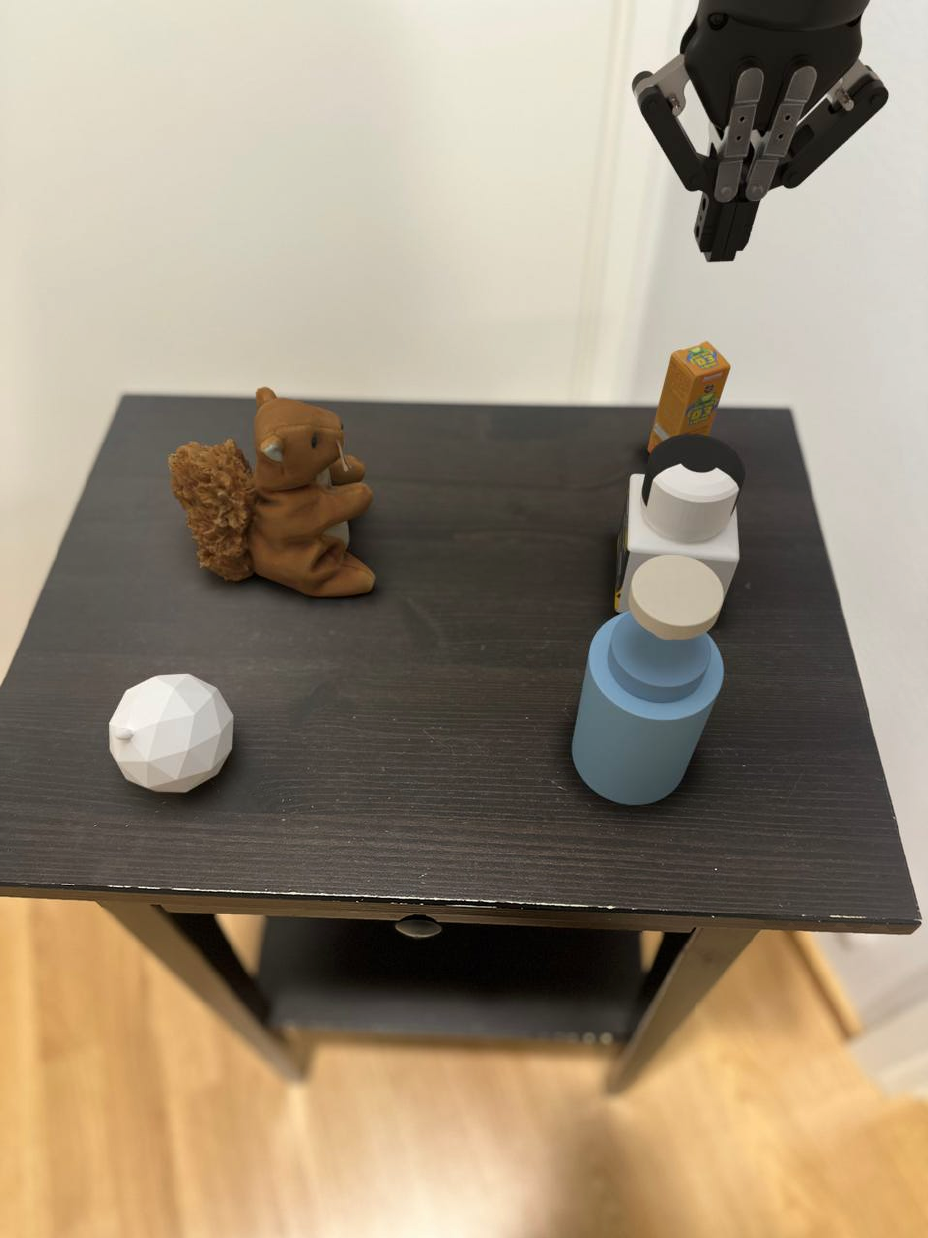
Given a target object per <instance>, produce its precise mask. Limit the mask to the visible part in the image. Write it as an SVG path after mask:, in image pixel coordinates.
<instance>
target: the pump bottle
mask: <svg viewBox="0 0 928 1238" xmlns="http://www.w3.org/2000/svg"><path fill="white" fill-rule="evenodd" d="M724 676H725V669H724V662H723V657H722V655H721V651H720V650H719V648H718V646H717V643H715V641H714V640H713V638H712V637H711V636H710V635H709V634H708V632H705V633H704V634H702V635H700V636H698V637H695V638H691V639H685V640H663V639H660V638H658V637H657V636H655V635H654V634H653V633H651V632H649V631H648V630H646V629H645V628H643V627H642V626H641V625H640V624H639V623H638V622H637V621H636V619H635V618H634V616H633V615H632V613H631V611H628V612H625V613H619V614H618V615H615V616H613V617H612V618H611V619H609V620H607V621H606V622H605V623H604V624H603V625H601V627H600V628H599V629H598V630H597V632H596V633H595V635H594V636H593V637H592V641H591V642H590V646H589V650H588V656H587V661H586V666H585V671H584V676H583V682H582V687H581V692H580V698H579V704H578V710H577V714H576V715H577V716H576V720H575V727H574V732H573V737H572V743H571V755H572V761H573V763H574V766H575V769H576V771H577V773H578V775H579V776H580V777H581V779H582V781H583V782H584V783H585V784H586V785H587V786H588V787H589V788H590V789H591V790H592V791H594V792H595V793H596V794H598V795H599V796H601V797H603V798H604V799H607V800H609V801H612V802H615V803H618V804H622V805H628V806H642V805H648V804H652V803H656V802H658V801H661V800H662V799H664V798H666V797H667V796H669V795H670V794H672V793H673V791H674V790H675V789H676V788H677V787H678V786H679V784H680V783H681V782H682V780H683V777H684V776H685V773H686V771H687V769H688V766H689V764H690V761H691V759H692V756H693V754H694V752H695V750H696V748H697V745H698V742H699V741H700V738H701V736H702V734H703V731H704V728H705V726H706V723H707V721H708V719H709V717H710V714H711V712H712V710H713V708H714V705H715V702H716V701H717V698H718V695H719V693H720V691H721V689H722V685H723V682H724Z"/></svg>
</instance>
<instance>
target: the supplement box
mask: <svg viewBox="0 0 928 1238" xmlns="http://www.w3.org/2000/svg"><path fill="white" fill-rule="evenodd" d="M731 368H732V367H731V364H730V363H729V362H728V360H727V359H726V358H725V357H724V355H722V354H721V352H720V351H719V350H717V348H715V347H714V345H712V344H711V343H710V342H709V341H703V342H701V343H700V344H698V345H695V346H691V347H688V348H684V349H678V350H674V351H673V352H671V354H670V357H669V361H668V366H667V369H666V374H665V377H664V381H663V386H662V389H661V393H660V397H659V400H658V404H657V405H658V406H657V409H656V415H655V416H654V421H653V425H652V429H651V433H650V437H649V441H648V445H647V452H648V453H649V454H650V453H651V451H652V450H653V448H654V447H656V446H657V445H658V444H659V443H661V442H662V441H664V440H666V439H668V438H670V437H673V436H677V435H682V434H700V435H706V436H710V432H711V429H712V425H713V424H714V423H713V422H714V420H715V416H716V413H717V412H718V411H717V410H718V407H719V405H720V402H721V398H722V395H723V391H724V390H725V386H726V383H727V380H728V377H729V374H730V370H731Z"/></svg>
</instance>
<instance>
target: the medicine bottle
mask: <svg viewBox="0 0 928 1238" xmlns="http://www.w3.org/2000/svg"><path fill="white" fill-rule="evenodd" d="M745 480H746V467H745V465H744V461H742V458H741V457H740V456H739V454H738V453H737V452H736V451H735V450H734V449H733V448H732V447H731V446H730V445H729V444H728V443H726V442H724V441H722V440H720V439H718V438H715V437H713V436H710V435H708V436H706V435H700V434H682V435H677V436H673V437H670V438H668V439H666V440H664V441H662V442H661V443H659V444H658V445H657V446H656V447H654V448H653V450H652V451H651V453H649V455H648V458H647V463H646V467H645V472H644V473H632V474H631V475H630V477H629V481H628V487H627V491H626V496H625V502H624V506H623V512H622V516H621V521H620V527H619V532H618V538H617V548H616V549H617V550H616V551H617V552H616V568H615V569H616V572H615V591H614V592H615V593H614V594H615V595H614V610H615V612H616V613H617V614H618V613H619V614H622V613H625V612H628V611H631V610H630V607H629V602H628V595H629V591H630V587H631V582H632V578H633V576H634V573H635V572H636V570H637V569H638V568H639V567H640V566H641V565H642V564H643V563H644V562H646V561H648V560H650V559H652V558H654V557H657V556H662V555H682V556H687V557H690V558H693V559H695V560H698V561H700V562H701V563H703V564H705V565H706V566H708V567H709V568H710V569H711V570H712V571H713V572H714V573H715V574H716V575H717V577H718V578H719V580H720V582H721V584H722V587H723V591H724V599H726V596H727V593H728V590H729V587H730V586H731V582H732V579H733V577H734V574H735V573H736V569H737V568H738V567H737V566H738V564H739V560H740V547H739V546H740V545H739V531H738V530H739V529H738V514H737V513H738V512H737V503H738V500H739V498H740V494H741V491H742V488H743V485H744V483H745Z"/></svg>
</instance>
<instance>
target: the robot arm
mask: <svg viewBox="0 0 928 1238" xmlns="http://www.w3.org/2000/svg"><path fill="white" fill-rule="evenodd" d="M870 1H871V0H698V5H697V9H696V12H695V14H694V17H693V19H692V21H691V22H690V23H689V26H688V27H687V28H686V30H685V31H684V33H683V35H682V37H681V39H680V40H681V41H680V43H679V53H678V54H677V55H676V56H674V57H673V58H672V59H671V60H670V61H668V62H667V63H666V64H664V65H663V66H662V67H661V68H660V69H658V70H656V72H654V73H653V72H652V71H650V70H642V71H640V72H638V73H637V74H636V75H635V76H634V77H633V80H632V82H631V90H632V93H633V96H634V98H635V102H636V104H637V106H638V109H639V111H640V114H641V116H642V118H643V120H644V121H645V123H646V124H647V126H648V127H649V129H650V131H651V133H652V134H653V136H654V138H655V140H656V141H657V143H658V144H659V146H660V148H661V150H662V152H663V153H664V155H665V156H666V158H667V160H668V162H669V163H670V165H671V167H672V168H673V170H674V171H675V173H676V175H677V177H678V179H679V181H680V182H681V183H682V185H683V187H684V188H685V190H686V191H688V192H692V193H693V192H698V191H699V192H701V196H700V201H699V202H700V203H699V205H698V210H697V215H696V218H695V219H696V220H695V223H694V227H693V234H694V240H695V242H696V245H697V248H698V250H699V252H700V253H702V254H703V255H704V257H705V261H706V263H722V262H723V263H724V262H726V263H727V262H734V260H735V258H736V255H737V252H743V251H744V249H745V248H746V247H747V245H748V244H749V241H750V238H751V236H752V235H751V234H752V231H753V227H754V224H755V221H756V218H757V214H758V211H759V207H760V204H761V201H762V200H763V199H764V198H765V197H766V195H767V194H768V192H770V191H772V190H775V189H777V188H780V187H783V188H785V189H786V190H787V189H788V190H792V189H795V188H798V187H799V186H800V185H801V184H802V183H804V182H805V180H807V179H808V178H809V177H810V176H811V175H812V174H813V173H814V172H815V171H817V169H819V168H820V166H822V165H823V164H824V163H825V162H826V161H828V159H829V158H830V157H831V156H832V155H834V154H835V153H836V152H837V151H838V150H839V149H840V148H841V147H842V146H843V145H844V144H845V143H846V142H847V141H849V140H850V139H851V138H852V137H853V136H854V135H855V134H856V133H857V132H858V131H859V130H860V129H862V127H863V126H865V125H866V124H867V123H868V122H869V121H870V120H871V119H872V118H873V117H874V116H875V115H876V114H877V113H879V112H880V111H881V109H883V108H884V107H885V105H886V104H887V102H888V100H889V98H890V97H889V96H890V95H889V90H888V89H887V88H886V86H885V85H884V82H883V81H882V79H881V78H880V77H879V75H878V74H877V73H876V72H875V71H874V70H873V69H872V67H870V65H867V64H864V63H863V61H862V60H861V59H860V55H861V53H862V49H863V36H862V18H863V15H864V13H865V11H866V9H867V8H868V6H869V4H870ZM689 81H690V82H691V85H692V86H693V89H694V91H695V93H696V95H697V97H698V99H699V101H700V103H701V106H702V108H703V110H704V112H705V115H706V116H707V118H708V127H707V128H708V143H707V145H708V146H707V151H706V152H707V153H706V155H705V154H702V153H699V152H697V150H696V147H695V146H694V144H693V142H692V141H691V139H690V137H689V135H688V133H687V132H686V130H685V128H684V126H683V124H682V122H681V121H680V119H679V117H680V116H681V114H682V113H683V111H684V110H685V108H686V104H687V98H686V97H685V88H686V86H687V84H688V82H689ZM823 98H824V99H823ZM822 99H823V100H822ZM817 104H818V105H817Z"/></svg>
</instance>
